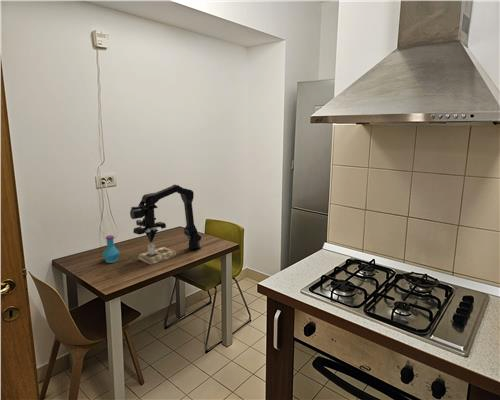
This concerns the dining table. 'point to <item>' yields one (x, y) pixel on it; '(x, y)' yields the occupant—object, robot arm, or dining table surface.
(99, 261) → the dining table surface
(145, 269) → the dining table surface
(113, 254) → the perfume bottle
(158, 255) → the frame
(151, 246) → the grey cylinder
